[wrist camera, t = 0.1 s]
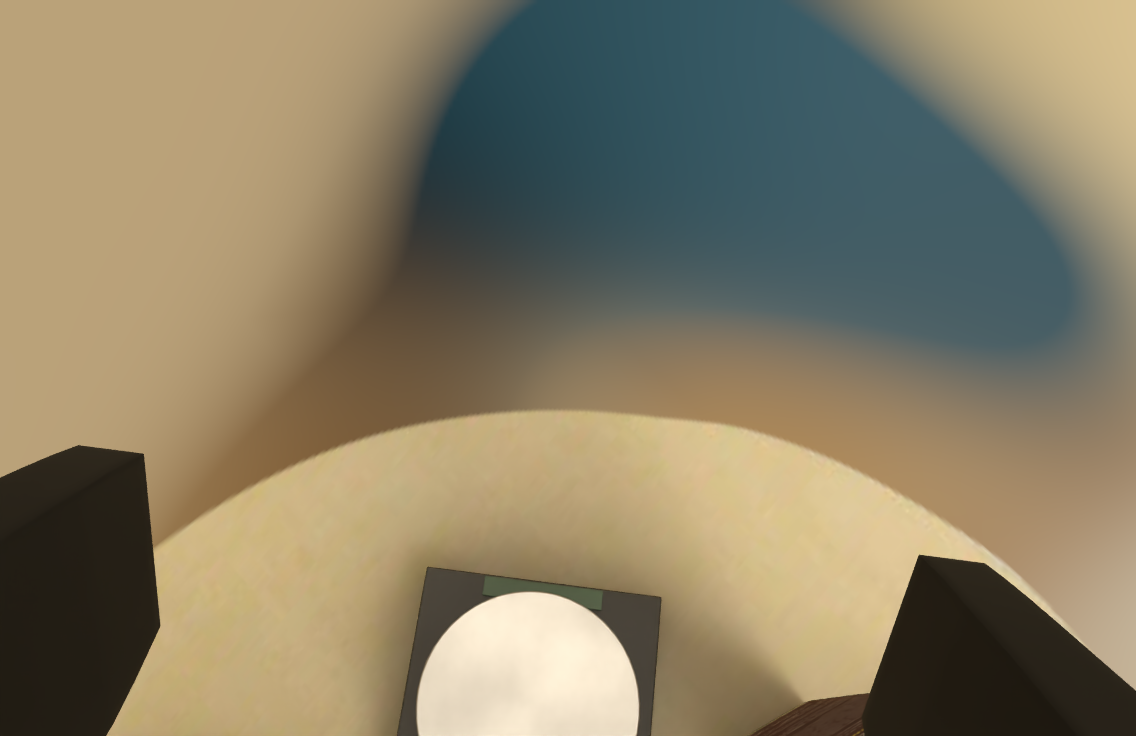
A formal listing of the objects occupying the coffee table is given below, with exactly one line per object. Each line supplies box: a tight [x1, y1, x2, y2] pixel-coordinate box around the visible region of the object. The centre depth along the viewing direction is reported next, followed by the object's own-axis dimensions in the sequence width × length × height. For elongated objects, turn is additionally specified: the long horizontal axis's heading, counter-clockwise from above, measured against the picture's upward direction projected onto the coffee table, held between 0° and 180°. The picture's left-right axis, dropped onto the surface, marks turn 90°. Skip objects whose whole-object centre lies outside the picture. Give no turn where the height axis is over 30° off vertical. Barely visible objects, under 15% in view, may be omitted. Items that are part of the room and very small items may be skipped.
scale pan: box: [416, 591, 640, 736], centre depth 36 cm, size 9×9×1 cm
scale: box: [397, 567, 661, 736], centre depth 38 cm, size 10×10×2 cm
